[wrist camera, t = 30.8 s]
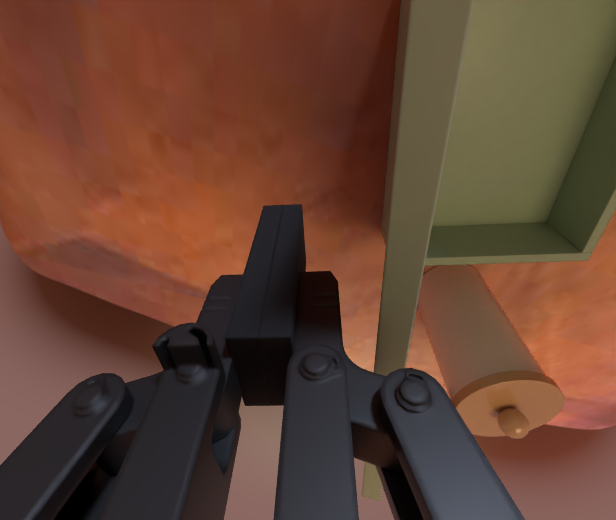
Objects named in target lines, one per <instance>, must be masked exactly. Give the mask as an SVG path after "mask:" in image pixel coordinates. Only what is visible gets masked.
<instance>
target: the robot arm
mask: <svg viewBox="0 0 616 520" xmlns="http://www.w3.org/2000/svg"><path fill="white" fill-rule="evenodd" d="M152 347H153V349H154V351H155V353H156V355H157V357H158V359H159V361H160V363H161V365H162V367H163V369H164V370H163V371H162V372H159V373H157V374H154V375H151V376H148V377H145V378H141V379H138V380H134V381H131V382H128V383H124V381H123V379H122V378H121V377H119V376H117V375H116V374H112V373H103V374H99V375H95V376H92V377H90V378H88V379H86V380H84V381H82V382H81V383H79V384H77V385H76V386H75V387H74V388H73V389H72V390H71V391H70V392H68V393H67V394H66V395H65V396H64V397H63V399H62V400H61V401H60V402H59V403H58V404H57V405H56V406H55V407H54V408H53V409H52V410H51V411H50V413H49V414H48V415H47V416H46V417H45V418H44V419H43V420H42V421H41V422H40V423H39V424H38V425H37V427H36V428H35V429H34V430H33V431H32V432H31V433H30V434H29V435H28V436H27V437H26V438H25V439H24V440H23V442H22V443H21V444H20V445H19V446H18V447H17V448H16V449H15V450H14V451H13V452H12V453H11V455H10V456H9V457H8V458H7V459H6V460H5V461H4V462H3V463H2V464H1V465H0V520H224V515H225V509H226V504H227V499H228V494H229V488H230V482H231V477H232V472H233V467H234V462H235V456H236V451H237V445H238V440H239V435H240V430H241V418H240V416H239V407H240V402H241V397H242V398H243V401H244V404H245V406H264V405H265V406H269V405H270V406H271V405H272V406H274V405H284V410H283V421H282V433H281V443H280V454H279V466H278V477H277V488H276V499H275V510H274V520H359V517H358V505H357V493H356V480H355V469H354V458H357V459H359V460H362V461H365V462H367V463H370V464H373V465H375V466H376V469H377V472H378V474H379V477H380V480H381V483H382V486H383V488H384V491H385V494H386V497H387V500H388V503H389V505H390V508H391V511H392V514H393V517H394V519H395V520H525V519H524V517H523V516H522V514H521V512H520V511H519V509H518V508H517V506H516V504H515V503H514V501H513V500H512V498H511V497H510V495H509V493H508V492H507V490H506V489H505V487H504V485H503V483H502V482H501V480H500V479H499V477H498V475H497V474H496V472H495V471H494V469H493V467H492V466H491V464H490V463H489V461H488V459H487V458H486V456H485V454H484V453H483V451H482V450H481V448H480V446H479V445H478V443H477V442H476V440H475V438H474V437H473V435H472V434H471V432H470V430H469V429H468V427H467V426H466V424H465V422H464V421H463V419H462V417H461V416H460V414H459V413H458V411H457V409H456V408H455V406H454V405H453V403H452V401H451V400H450V398H449V397H448V395H447V393H446V392H445V390H444V389H443V387H442V386H441V385H440V384H439V383H438V382H437V380H436V379H435V378H433V377H432V376H430V375H428V374H427V373H425V372H424V371H420V370H416V369H413V368H402V369H397V370H395V371H393V372H391V373H389V374H388V375H387V376H384V375H380V374H377V373H373V372H370V371H367V370H365V369H362V368H360V367H359V366H357V365H356V364H354V363H353V362H352V361H351V360H350V359H349V358H348V356H347V355H346V353H345V351H344V347H343V340H342V328H341V315H340V303H339V291H338V281H337V280H336V278H335V277H334V275H333V274H332V273H331V271H318V272H306V255H305V240H304V226H303V212H302V204H297V205H271V206H263V210H262V213H261V217H260V220H259V223H258V227H257V230H256V234H255V237H254V240H253V244H252V247H251V250H250V254H249V257H248V261H247V264H246V267H245V271H244V274H243V275H221V276H220V277H219V278H218V279H217V280H216V281H215V282H214V283H213V284H212V285H211V287H210V290H209V292H208V295H207V297H206V300H205V302H204V305H203V307H202V310H201V312H200V315H199V317H198V320H197V322H196V323H186V324H180V325H178V326H176V327H173V328H171V329H169V330H167V331H166V332H165V333H163V334H162V335H161V336H159V337H158V339H157V340H156V342H155V343H154V344H153V346H152Z"/></svg>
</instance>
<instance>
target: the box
mask: <svg viewBox="0 0 616 520" xmlns="http://www.w3.org/2000/svg"><path fill="white" fill-rule="evenodd" d="M409 7H410V0H401V6H400V18H399V30H398V41H397V53H396V65H395V77H394V88H393V100H392V112H391V124H390V135H389V147H388V159H387V171H386V182H385V194H384V206H383V218H382V229H381V232H382V235H383V238H384V241H385V244H386V242H387V232H388V221H389V211H390V201H391V191H392V181H393V170H394V160H395V150H396V140H397V130H398V119H399V109H400V99H401V89H402V79H403V68H404V58H405V48H406V38H407V28H408V17H409ZM615 210H616V0H474V5H473V10H472V16H471V21H470V26H469V32H468V37H467V42H466V48H465V53H464V58H463V64H462V69H461V74H460V80H459V85H458V90H457V96H456V101H455V106H454V112H453V117H452V122H451V127H450V133H449V138H448V143H447V149H446V154H445V159H444V165H443V170H442V175H441V181H440V186H439V191H438V197H437V202H436V207H435V213H434V218H433V223H432V229H431V234H430V239H429V245H428V250H427V255H426V260H425V266H433V265H464V264H496V263H527V262H559V261H587V260H588V259H589V257H590V256H591V254H592V252H593V250H594V248H595V246H596V245H597V243H598V241H599V239H600V237H601V235H602V234H603V232H604V230H605V228H606V226H607V224H608V223H609V221H610V219H611V217H612V215H613V213H614V212H615Z"/></svg>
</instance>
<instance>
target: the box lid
mask: <svg viewBox="0 0 616 520" xmlns="http://www.w3.org/2000/svg"><path fill="white" fill-rule="evenodd" d="M473 5H474V0H410V7H409V17H408V28H407V38H406V48H405V58H404V68H403V79H402V89H401V99H400V109H399V119H398V130H397V140H396V150H395V160H394V170H393V181H392V191H391V201H390V211H389V221H388V232H387V242H386V252H385V262H384V272H383V283H382V293H381V303H380V313H379V323H378V334H377V344H376V354H375V364H374V373H377V374H380V375H384V376H387V375H388V374H389V373H391V372H393V371H395V370H397V369H402V368H405V367H406V362H407V356H408V351H409V346H410V340H411V335H412V330H413V324H414V319H415V314H416V308H417V303H418V298H419V292H420V287H421V282H422V276H423V271H424V266H425V260H426V255H427V250H428V245H429V239H430V234H431V229H432V223H433V218H434V213H435V207H436V202H437V197H438V191H439V186H440V181H441V175H442V170H443V165H444V159H445V154H446V149H447V143H448V138H449V133H450V127H451V122H452V117H453V112H454V106H455V101H456V96H457V90H458V85H459V80H460V74H461V69H462V64H463V58H464V53H465V48H466V42H467V37H468V32H469V26H470V21H471V16H472V10H473ZM382 489H383V486H382V483H381V480H380V477H379V474H378V472H377V469H376V466H375V465H373V464H370V463H367V462H365V466H364V477H363V487H362V496H363V497H367V498H370V499H374V500H378V501H380V500H381V494H382Z"/></svg>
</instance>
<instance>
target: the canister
mask: <svg viewBox="0 0 616 520" xmlns="http://www.w3.org/2000/svg"><path fill="white" fill-rule="evenodd" d="M417 307H418V309H419V312H420V315H421V318H422V321H423V323H424V326H425V329H426V332H427V335H428V337H429V340H430V343H431V346H432V349H433V352H434V354H435V357H436V360H437V363H438V366H439V368H440V371H441V374H442V377H443V380H444V382H445V385H446V388H447V391H448V394H449V397H450V399H451V401H452V403H453V405H454V406H455V408H456V409H457V411H458V413H459V414H460V416H461V417H462V419H463V421H464V422H465V424H466V426H467V427H468V429H469V430H470V432H471V434H475V435H479V436H493V437H494V436H509V437H511V438H515V439H516V438H517V439H519V438H523V437H525V436H526V435H527V434H528V432H529V430H532V429H534V428H536V427H539V426H541V425H543V424H545V423H547V422H548V421H550V420H551V419H553V418H554V417H555V416H556V415H557V414H558V413H559V412H560V411H561V409H562V408H563V405H564V401H565V399H564V395H563V393H562V391H561V390H560V388H559V387H558V385H557V384H556V382H555V381H554V380H553V379H551V378H550V377H548V376H546V375H545V373H544V372H543V370H542V369H541V367H540V366H539V364H538V363H537V361H536V360H535V358H534V356H533V355H532V353H531V352H530V350H529V349H528V347H527V346H526V344H525V343H524V341H523V340H522V338H521V337H520V335H519V333H518V332H517V330H516V329H515V327H514V326H513V324H512V323H511V321H510V320H509V318H508V317H507V315H506V313H505V312H504V310H503V309H502V307H501V306H500V304H499V303H498V301H497V300H496V298H495V297H494V295H493V294H492V292H491V290H490V289H489V287H488V286H487V284H486V283H485V281H484V280H483V278H482V277H481V275H480V274H479V272H478V271H477V270H476V269H475V268H473V267H471V266H469V265H467V264H464V265H440V266H437V267H435V268H433V269H431V270H429V271H428V272H426V273H425V274H424V275H423V276H422V282H421V287H420V292H419V298H418V303H417Z"/></svg>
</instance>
